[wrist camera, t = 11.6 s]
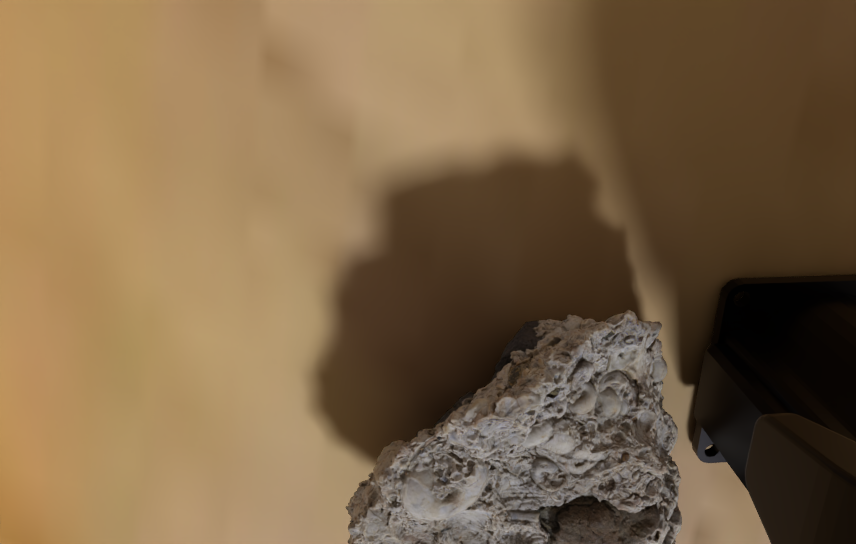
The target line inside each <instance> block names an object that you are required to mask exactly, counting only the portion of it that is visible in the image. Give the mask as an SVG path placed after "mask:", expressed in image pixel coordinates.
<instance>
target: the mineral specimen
mask: <svg viewBox="0 0 856 544" xmlns="http://www.w3.org/2000/svg"><path fill="white" fill-rule="evenodd" d="M661 327H662V325H661V323H660V322H651V321H644V322H642V321H639V320H638V318H637V316H636V315H635V313H634V312H632V311H630V310H627V311H626V312H624V313H621V314H617V315H614V316H611V317H610V318H608V319H607V320H606V321H605V322H603V321H601V322H595V320H593V319H584V320H583V319H582V318H581V317H579V316H576V315H573V316H571V315H570V314H569V315H568V316H567V319H566V320H563V321H558V320H552V319H547V320H540V321H531V322H526V323H525V324H524V325H523V327H522V328H521V329H520V331H518V333H517V334H516V335H515V337H514V338H513V339H512V340H511V341H510V342H509V343H508V344H507V346H506V348H505V349H504V351H503V353H502V356H501V359H500V361H499V362H498V363H497V365H496V367H495V374H494V376H493V377H492V379H491V381H490V383H489V384H488V385H487V386H486V387H483V388H481V389H478V390H477V392H476V394H474V393H472V392H469V393H467V394H466V395H464V396H462V397H461V398H460V399H459V400H458V401H457V402H456V403H455V404H454V406H453V408H451V409H449V410H448V411H447V412H446V414H445V415H444V416H442V418H441V419H440V420H439V421H438V422H437V423H436V424H435V426H434V427H433V428H432V429H423V430H420V431H418V432H417V434H416V437H415V438H413V439H412V440H411V441H410V442H409V441H407V442H404V441H403V440H398V441H394V442H391V444H390V445H389V446H386V447H384V449H383V451H382V452H381V454H380V456H378V458H377V463H376V466H375V467H374V469H373V471H374V473H370V474H369V477H371V478H369V480H365V481H362V482H361V483H359V486H360V487H358V489H357V491H356V492H355V493H354V496H353V497H352V498H351V499H350V502H349V503H348V505H349V506H346V509H347V510H348V514H349V515H351V521H350V522H351V523H350V524H349V525H348V530H349V532H350V534H351V535H350V538H349V540H348V543H349V544H675V543H676V541H675V539H676V534H677V533H678V532H679V531H680V530H681V525H682V517H681V513H680V511H679V508H678V503H677V501H678V487H679V484H680V480H681V477H680V476H679V472H678V468H677V465H676V464H675V462H674V461H672V457H671V456H669V454H670V453H671V451H672V449H673V447H674V445H675V443H676V441H677V433H678V431H677V427H676V425H675V423H674V422H673V420H672V417H671V415H669V414H667V412H665V411H664V409H663V408H662V400H663V399H664V397H663V396H662V395H661V390H662V384H663V382H662V381H661V380H663V379H664V377H665V376H666V373H667V364H666V362H665V360H664V359H663V357H662V355H661V354H662V351H661V347H662V345H661V344H662V343H661V341H659V339H656V338H657V336H658V335H659V334H658V333H659V330H660V329H661Z"/></svg>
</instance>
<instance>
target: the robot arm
mask: <svg viewBox="0 0 856 544" xmlns="http://www.w3.org/2000/svg"><path fill="white" fill-rule="evenodd" d="M743 291H744V294H743V296H742V298H740V299H739V300H737V301H734V298H735V296H736V295H737V294H738V293H739V292H743ZM694 417H695V419H696V420H697V421H696V427H695V432H694V437H693V443H692V449H693V450H694V452H695V453H696V455H697V456H698V458H699V459H700V460H701V461H703V462H706V463H717V462H727V463H728V464H729V465H730V467H731V468H732V469H733V471H734V472H735V474H736V475H737V476H738V478H739V479H740V480H741V482H742V483H743V485H744V486H745V487H746V489H747V490H748V492H749V494H750V496H751V498H752V501H753V503H754V505H755V508H756V510H757V512H758V514H759V517H760V519H761V521H762V524H763V526H764V528H765V530H766V533H767V535H768V537H769V540H770V542H771V544H856V275H833V276H801V277H769V278H738V279H734V280H731V281H730V282H728V283H726V285H725V286H724V287H723V288H722V290H721V293H720V297H719V302H718V308H717V313H716V318H715V324H714V329H713V335H712V340H711V344H710V345H709V347H708V348H707V349H706V351H705V354H704V360H703V365H702V371H701V376H700V382H699V387H698V393H697V398H696V404H695V409H694ZM711 444H713V446H712V447H711V448H709V449H706V447H707V446H709V445H711ZM705 449H706V450H705Z"/></svg>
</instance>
